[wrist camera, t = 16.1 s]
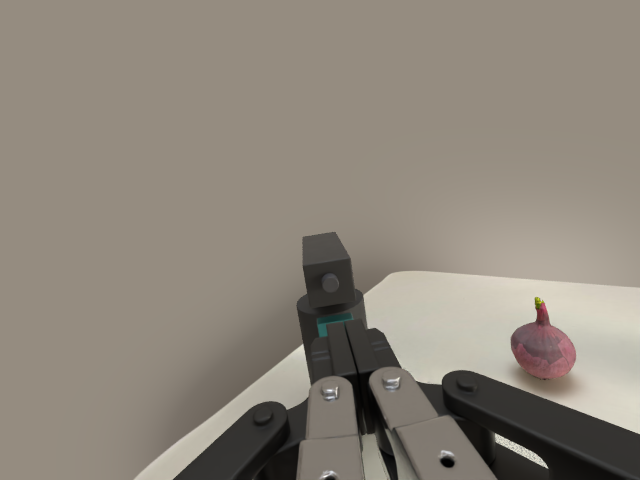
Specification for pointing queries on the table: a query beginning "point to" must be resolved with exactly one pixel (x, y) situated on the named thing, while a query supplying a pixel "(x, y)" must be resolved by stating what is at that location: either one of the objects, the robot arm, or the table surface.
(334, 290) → the spray bottle
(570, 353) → the vegetable
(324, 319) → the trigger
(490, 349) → the table surface
